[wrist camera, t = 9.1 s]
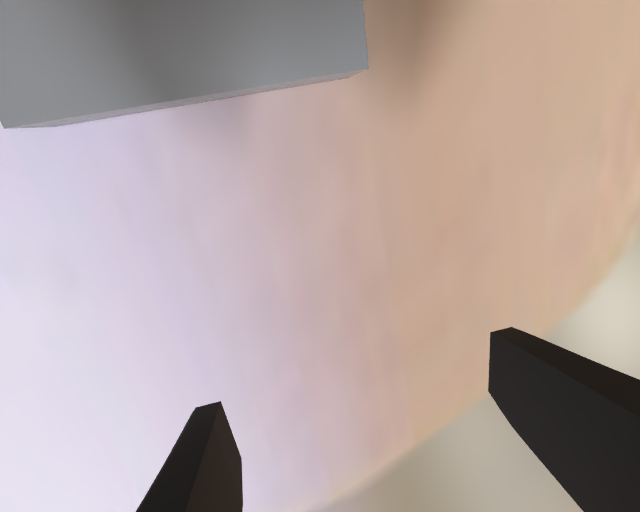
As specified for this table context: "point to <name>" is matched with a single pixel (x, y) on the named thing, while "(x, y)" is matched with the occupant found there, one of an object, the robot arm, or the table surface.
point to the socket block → (165, 53)
